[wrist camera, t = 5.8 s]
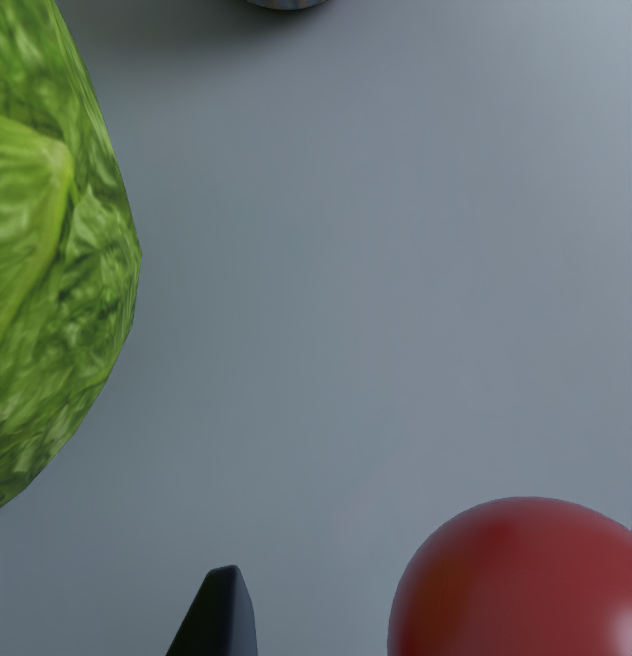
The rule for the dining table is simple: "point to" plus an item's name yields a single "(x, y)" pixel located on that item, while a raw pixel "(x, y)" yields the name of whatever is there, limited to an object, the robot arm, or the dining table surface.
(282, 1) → the vase
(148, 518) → the dining table surface
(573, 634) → the lever
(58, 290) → the lettuce
